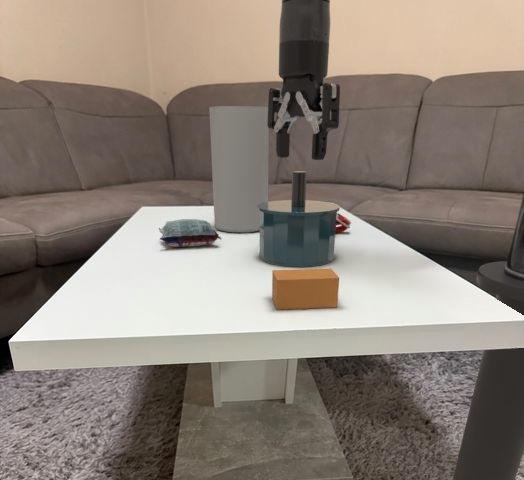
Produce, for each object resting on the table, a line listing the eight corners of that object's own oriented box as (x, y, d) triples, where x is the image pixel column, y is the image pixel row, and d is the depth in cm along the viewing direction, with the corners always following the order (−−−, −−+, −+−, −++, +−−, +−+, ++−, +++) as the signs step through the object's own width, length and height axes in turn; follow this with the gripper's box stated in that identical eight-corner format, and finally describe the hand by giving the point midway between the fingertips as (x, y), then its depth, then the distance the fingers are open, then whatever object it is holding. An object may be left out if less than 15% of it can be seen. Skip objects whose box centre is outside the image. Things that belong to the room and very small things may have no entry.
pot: (298, 245, 91) (300, 201, 87) (348, 258, 82) (352, 209, 78) (245, 255, 84) (245, 207, 80) (293, 271, 74) (295, 218, 71)
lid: (300, 203, 88) (301, 167, 85) (356, 213, 78) (360, 172, 75) (241, 211, 80) (240, 171, 77) (295, 222, 70) (296, 177, 67)
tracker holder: (321, 235, 94) (286, 218, 99) (319, 254, 97) (285, 236, 102) (357, 215, 100) (322, 199, 105) (354, 233, 103) (320, 217, 108)
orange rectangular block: (329, 296, 63) (330, 268, 62) (337, 307, 59) (339, 277, 58) (272, 298, 63) (272, 270, 61) (276, 309, 59) (276, 279, 57)
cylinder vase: (267, 233, 101) (267, 106, 90) (211, 233, 101) (204, 106, 91) (268, 223, 112) (269, 108, 101) (218, 222, 113) (213, 108, 102)
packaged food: (159, 240, 94) (157, 216, 92) (216, 238, 97) (215, 214, 94) (160, 251, 87) (158, 225, 85) (222, 248, 89) (221, 222, 87)
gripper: (357, 38, 65) (347, 160, 73) (291, 49, 75) (288, 155, 83) (320, 31, 61) (313, 161, 68) (255, 44, 71) (255, 157, 78)
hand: (299, 158), depth 75 cm, fingers open, 8 cm apart
